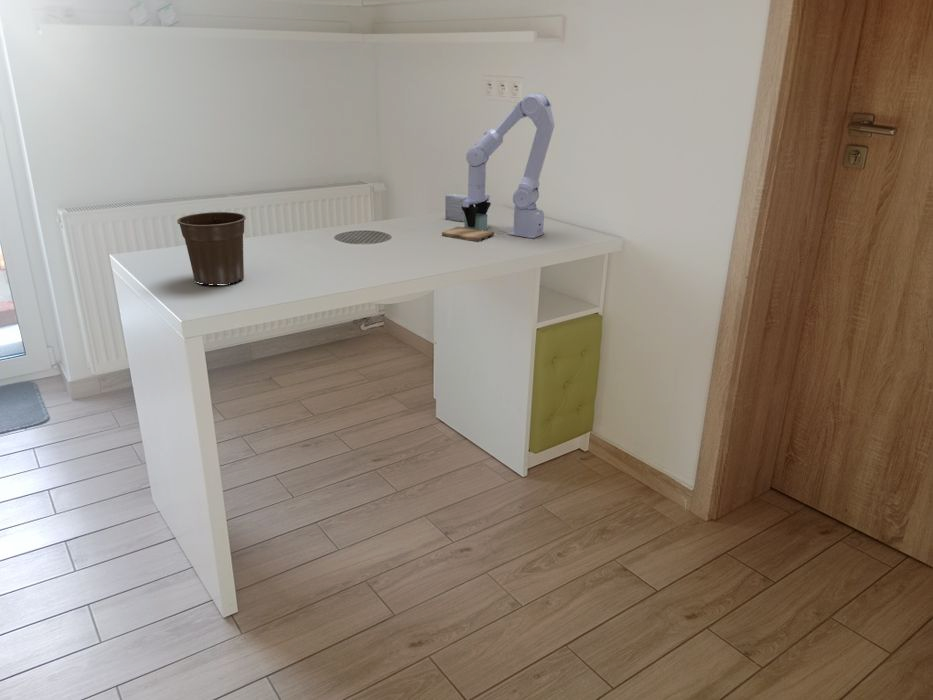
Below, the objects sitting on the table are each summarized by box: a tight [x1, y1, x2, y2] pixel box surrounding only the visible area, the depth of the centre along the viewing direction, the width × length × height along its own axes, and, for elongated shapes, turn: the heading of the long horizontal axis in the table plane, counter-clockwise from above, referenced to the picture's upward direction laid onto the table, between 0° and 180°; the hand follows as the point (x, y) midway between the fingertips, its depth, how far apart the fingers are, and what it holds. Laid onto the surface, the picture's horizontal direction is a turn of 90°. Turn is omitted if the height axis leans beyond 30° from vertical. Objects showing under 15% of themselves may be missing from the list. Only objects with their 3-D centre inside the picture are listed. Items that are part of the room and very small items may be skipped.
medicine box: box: [444, 193, 468, 223], centre depth 254 cm, size 8×4×9 cm, turn 58°
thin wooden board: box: [441, 226, 495, 242], centre depth 233 cm, size 14×10×1 cm
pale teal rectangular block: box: [463, 213, 488, 231], centre depth 241 cm, size 6×5×5 cm
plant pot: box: [177, 211, 246, 285], centre depth 180 cm, size 16×16×16 cm
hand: (475, 225), depth 242 cm, fingers open, 6 cm apart
